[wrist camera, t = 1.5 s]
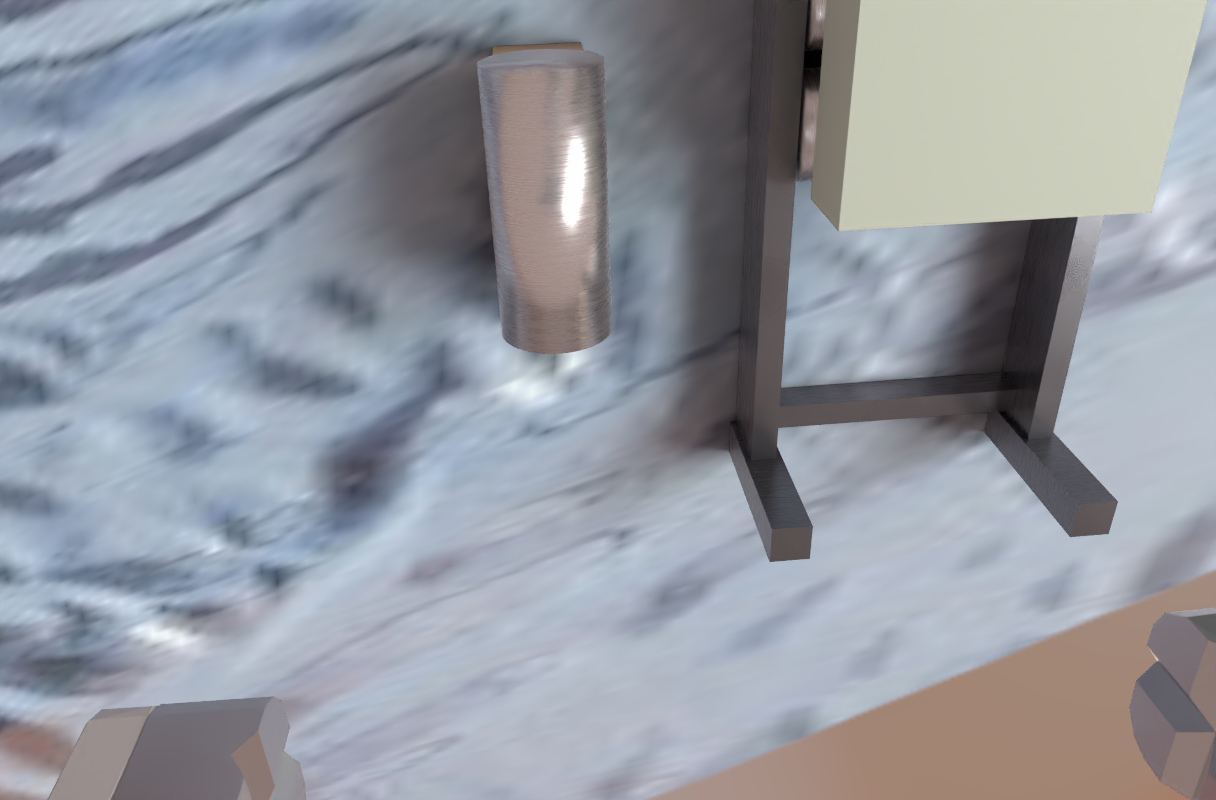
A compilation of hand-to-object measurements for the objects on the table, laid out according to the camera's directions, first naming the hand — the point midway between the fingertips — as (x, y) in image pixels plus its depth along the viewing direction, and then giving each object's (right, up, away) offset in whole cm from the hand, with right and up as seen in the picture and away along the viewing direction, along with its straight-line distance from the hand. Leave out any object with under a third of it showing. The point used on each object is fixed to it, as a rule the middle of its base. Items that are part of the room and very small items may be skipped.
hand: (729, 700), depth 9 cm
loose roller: (-3, +8, +15) cm, 18 cm away
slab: (+8, +12, +15) cm, 21 cm away
